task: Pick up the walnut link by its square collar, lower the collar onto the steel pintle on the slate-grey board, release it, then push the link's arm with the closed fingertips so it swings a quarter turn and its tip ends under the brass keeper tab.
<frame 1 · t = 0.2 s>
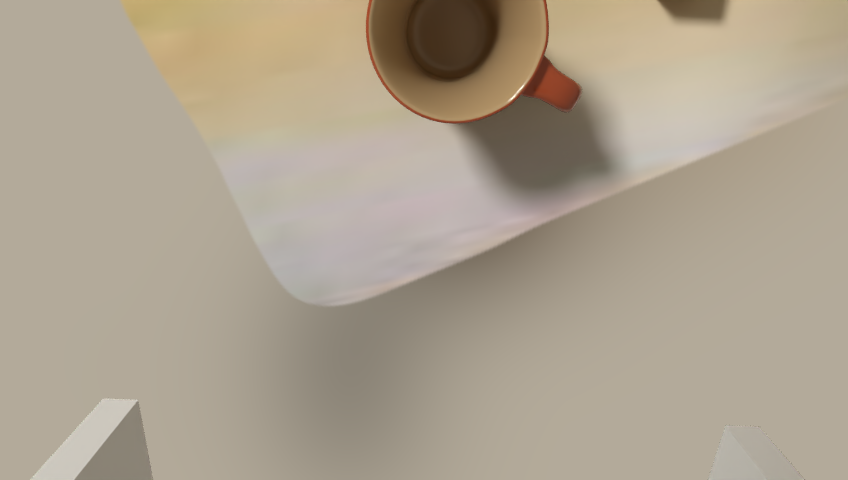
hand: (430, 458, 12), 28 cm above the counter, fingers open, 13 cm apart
mug: (469, 46, 35), on the counter
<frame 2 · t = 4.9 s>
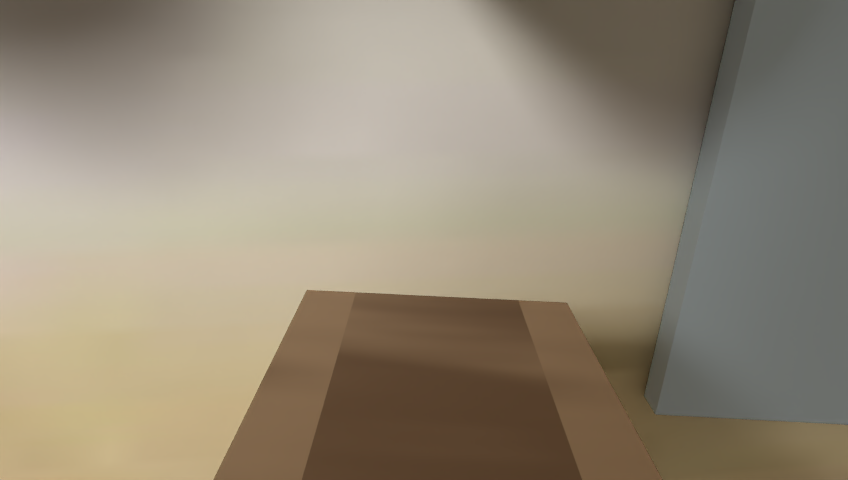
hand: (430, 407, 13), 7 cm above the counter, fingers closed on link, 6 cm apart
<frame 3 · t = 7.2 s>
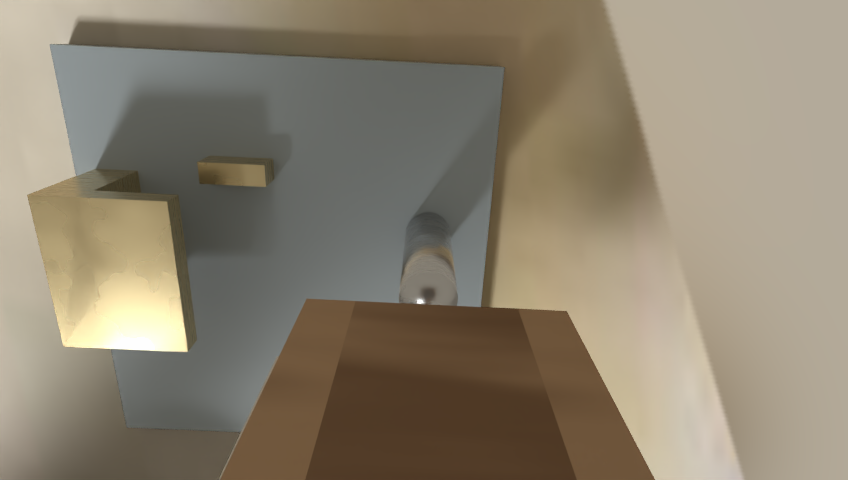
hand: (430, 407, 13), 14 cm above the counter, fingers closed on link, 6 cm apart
keeper: (171, 249, 24), on the board, point 4 cm above the counter
board: (295, 263, 28), on the counter
pintle: (428, 261, 22), on the board, point 5 cm above the counter
when the fingers open (2 cm above the counter, at t = 9.7 s): link stays where it is, resting on board.
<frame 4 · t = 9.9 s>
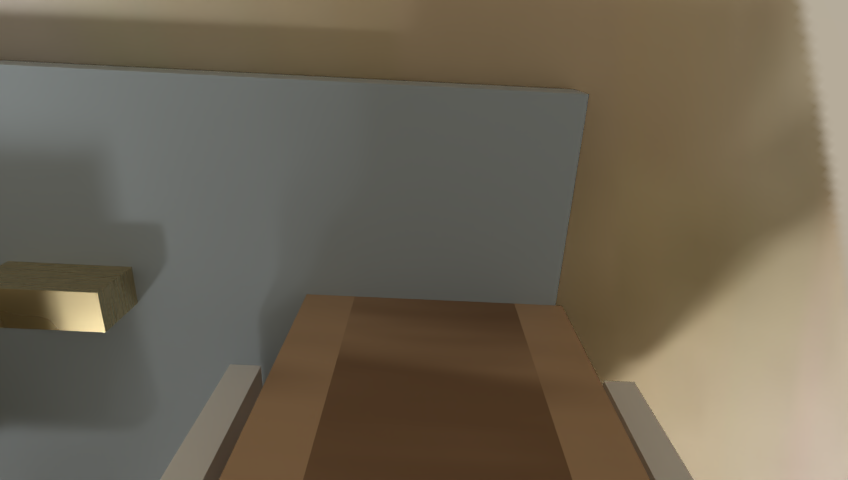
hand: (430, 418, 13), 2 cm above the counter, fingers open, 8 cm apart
board: (199, 425, 16), on the counter
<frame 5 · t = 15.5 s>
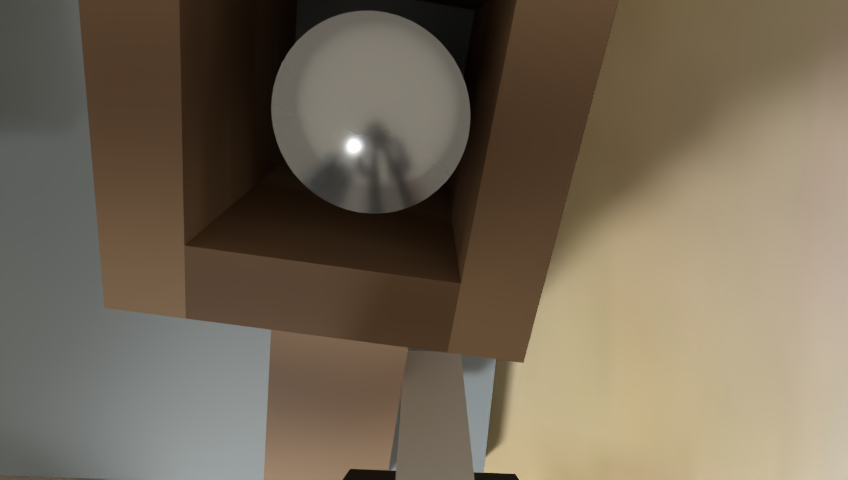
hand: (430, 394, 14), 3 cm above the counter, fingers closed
board: (146, 157, 14), on the counter
pintle: (391, 90, 9), on the board, point 5 cm above the counter
link: (333, 473, 17), point 1 cm above the counter, touching gripper
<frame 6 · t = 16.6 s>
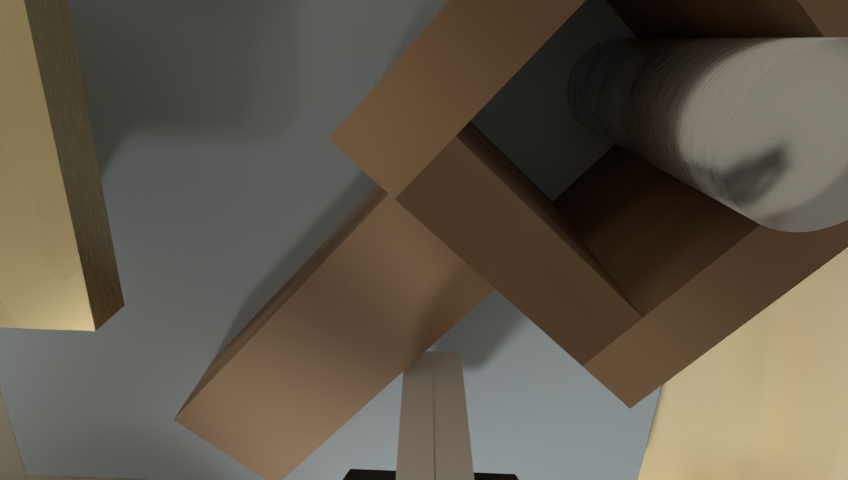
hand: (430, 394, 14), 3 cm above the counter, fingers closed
keeper: (63, 98, 10), on the board, point 4 cm above the counter
board: (331, 165, 14), on the counter
pintle: (679, 104, 9), on the board, point 5 cm above the counter
link: (255, 392, 16), point 1 cm above the counter, touching board, gripper, pintle
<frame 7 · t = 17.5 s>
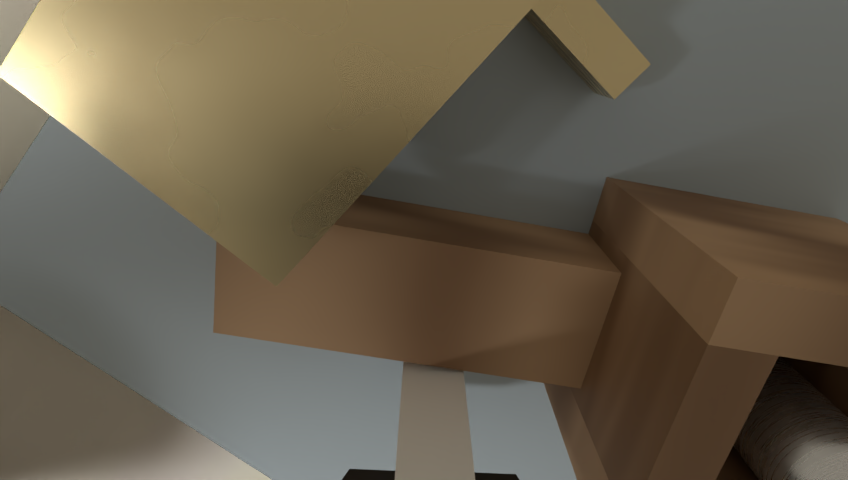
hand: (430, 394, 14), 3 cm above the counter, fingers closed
keeper: (376, 66, 10), on the board, point 4 cm above the counter
board: (465, 227, 15), on the counter
pintle: (773, 417, 12), on the board, point 5 cm above the counter
link: (250, 232, 14), point 1 cm above the counter, touching gripper, pintle
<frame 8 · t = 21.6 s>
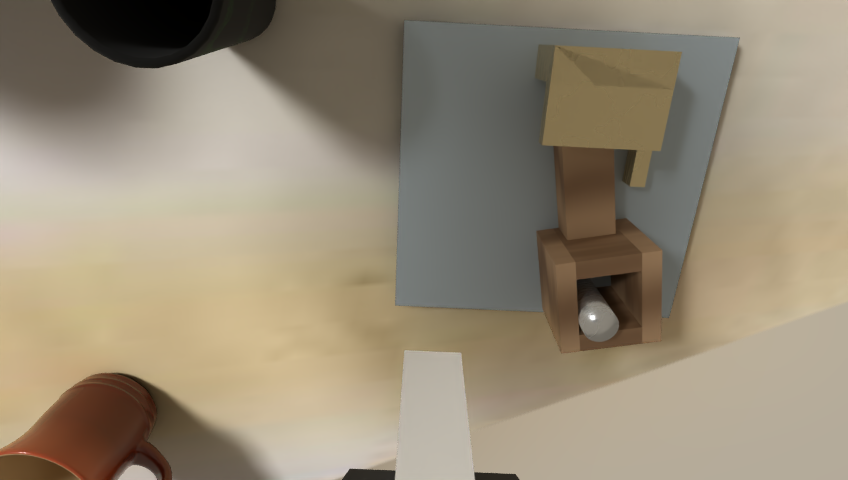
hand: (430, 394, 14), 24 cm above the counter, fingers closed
mug: (138, 408, 45), on the counter
keeper: (600, 121, 32), on the board, point 4 cm above the counter
board: (546, 180, 37), on the counter
pintle: (584, 299, 35), on the board, point 5 cm above the counter
link: (575, 95, 33), point 1 cm above the counter, touching board, pintle
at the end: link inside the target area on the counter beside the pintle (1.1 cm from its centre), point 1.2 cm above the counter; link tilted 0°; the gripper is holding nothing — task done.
